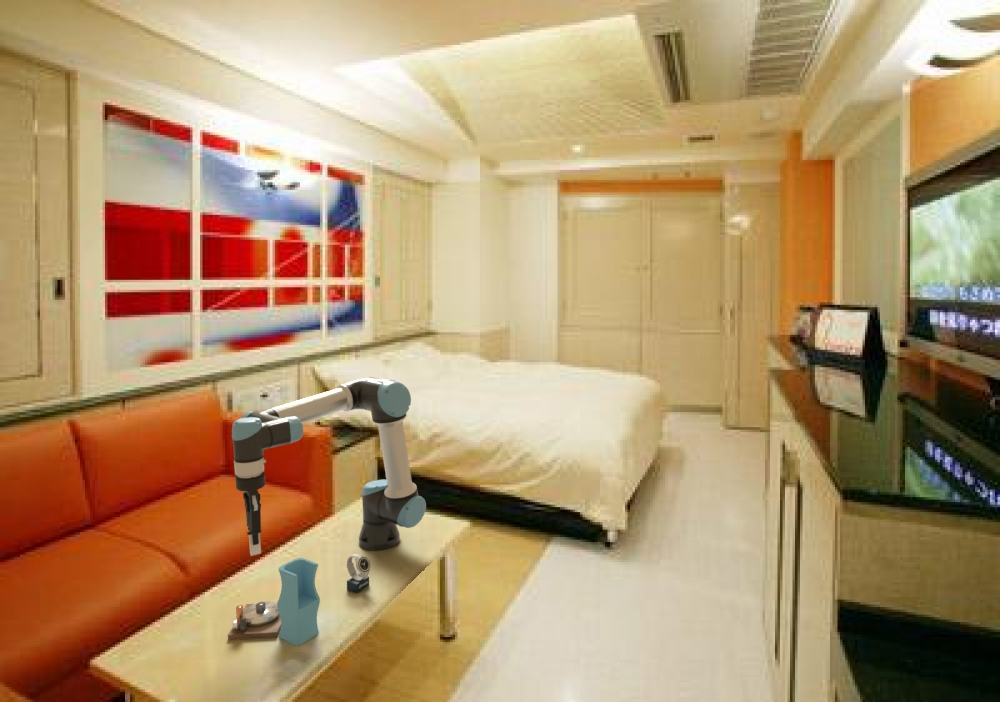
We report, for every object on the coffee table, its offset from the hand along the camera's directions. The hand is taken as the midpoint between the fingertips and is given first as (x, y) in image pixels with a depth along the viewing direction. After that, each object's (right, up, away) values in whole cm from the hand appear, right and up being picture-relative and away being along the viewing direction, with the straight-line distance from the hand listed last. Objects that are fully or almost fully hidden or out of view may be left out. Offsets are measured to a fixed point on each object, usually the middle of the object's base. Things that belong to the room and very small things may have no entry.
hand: (255, 553), depth 161 cm
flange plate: (0, -19, +1) cm, 19 cm away
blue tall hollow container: (+14, -21, -4) cm, 26 cm away
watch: (+24, -19, +21) cm, 37 cm away
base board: (+1, -20, +2) cm, 21 cm away
